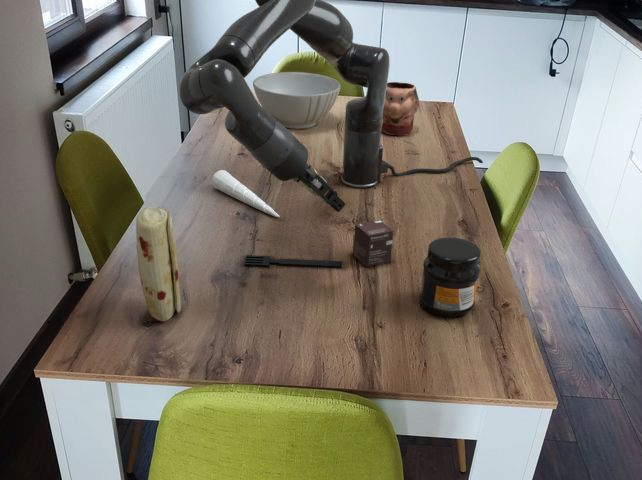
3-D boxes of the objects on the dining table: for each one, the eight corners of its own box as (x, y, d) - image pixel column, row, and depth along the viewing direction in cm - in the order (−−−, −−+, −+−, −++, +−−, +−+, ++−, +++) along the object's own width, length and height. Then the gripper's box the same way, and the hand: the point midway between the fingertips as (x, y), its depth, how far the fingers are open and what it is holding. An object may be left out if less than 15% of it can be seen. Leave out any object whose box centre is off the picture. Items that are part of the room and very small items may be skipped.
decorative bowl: (338, 138, 211) (340, 97, 204) (249, 134, 211) (248, 92, 204) (339, 112, 233) (340, 74, 226) (258, 108, 233) (257, 69, 226)
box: (366, 267, 146) (368, 235, 141) (352, 255, 150) (354, 223, 146) (391, 262, 148) (394, 230, 144) (376, 250, 152) (379, 218, 148)
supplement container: (473, 322, 130) (483, 265, 123) (416, 315, 131) (423, 258, 124) (473, 294, 139) (484, 239, 132) (420, 287, 140) (427, 232, 133)
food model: (148, 299, 132) (136, 199, 120) (184, 299, 132) (175, 199, 121) (141, 328, 124) (127, 223, 112) (180, 327, 124) (170, 224, 113)
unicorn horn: (266, 223, 161) (266, 203, 158) (211, 189, 175) (210, 171, 173) (283, 218, 163) (283, 198, 161) (227, 185, 178) (226, 167, 175)
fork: (341, 261, 148) (342, 259, 147) (341, 270, 144) (342, 268, 144) (246, 257, 147) (246, 255, 147) (244, 266, 144) (244, 264, 144)
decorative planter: (378, 118, 229) (382, 74, 221) (416, 121, 228) (421, 77, 220) (375, 138, 213) (378, 91, 205) (415, 141, 212) (420, 94, 204)
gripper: (308, 145, 119) (362, 197, 130) (272, 120, 129) (325, 171, 140) (280, 179, 120) (336, 229, 131) (246, 152, 130) (300, 201, 141)
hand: (330, 199), depth 136 cm, fingers open, 8 cm apart
